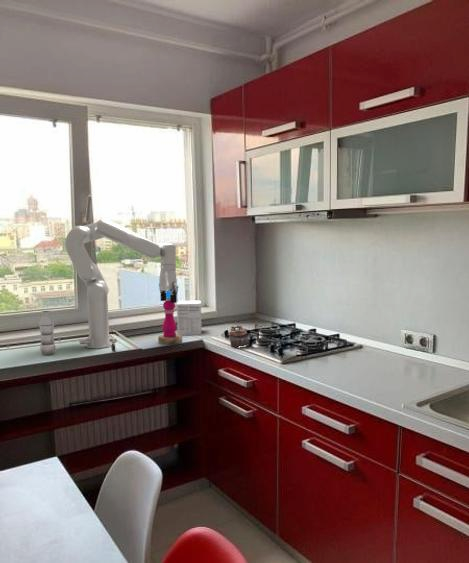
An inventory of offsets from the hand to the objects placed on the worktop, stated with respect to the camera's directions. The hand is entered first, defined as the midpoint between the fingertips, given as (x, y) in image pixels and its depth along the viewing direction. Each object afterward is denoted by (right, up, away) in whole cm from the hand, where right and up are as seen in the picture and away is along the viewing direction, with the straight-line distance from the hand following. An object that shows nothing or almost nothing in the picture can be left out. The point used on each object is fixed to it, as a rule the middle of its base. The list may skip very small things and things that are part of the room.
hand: (168, 301), depth 234 cm
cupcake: (+36, -21, -10) cm, 43 cm away
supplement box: (+8, -19, +26) cm, 33 cm away
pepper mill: (+1, -18, +1) cm, 18 cm away
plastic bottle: (-52, -24, -21) cm, 61 cm away
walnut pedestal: (+1, -21, +2) cm, 21 cm away
